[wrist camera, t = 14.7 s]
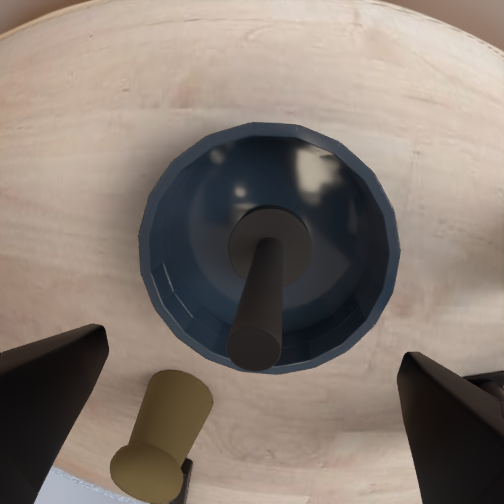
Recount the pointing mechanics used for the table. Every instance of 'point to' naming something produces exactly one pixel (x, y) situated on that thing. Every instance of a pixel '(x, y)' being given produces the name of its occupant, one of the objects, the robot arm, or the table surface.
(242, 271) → the dark disc-based rod
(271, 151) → the bowl
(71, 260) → the table surface
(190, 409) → the olive game pawn
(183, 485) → the multiport hub
